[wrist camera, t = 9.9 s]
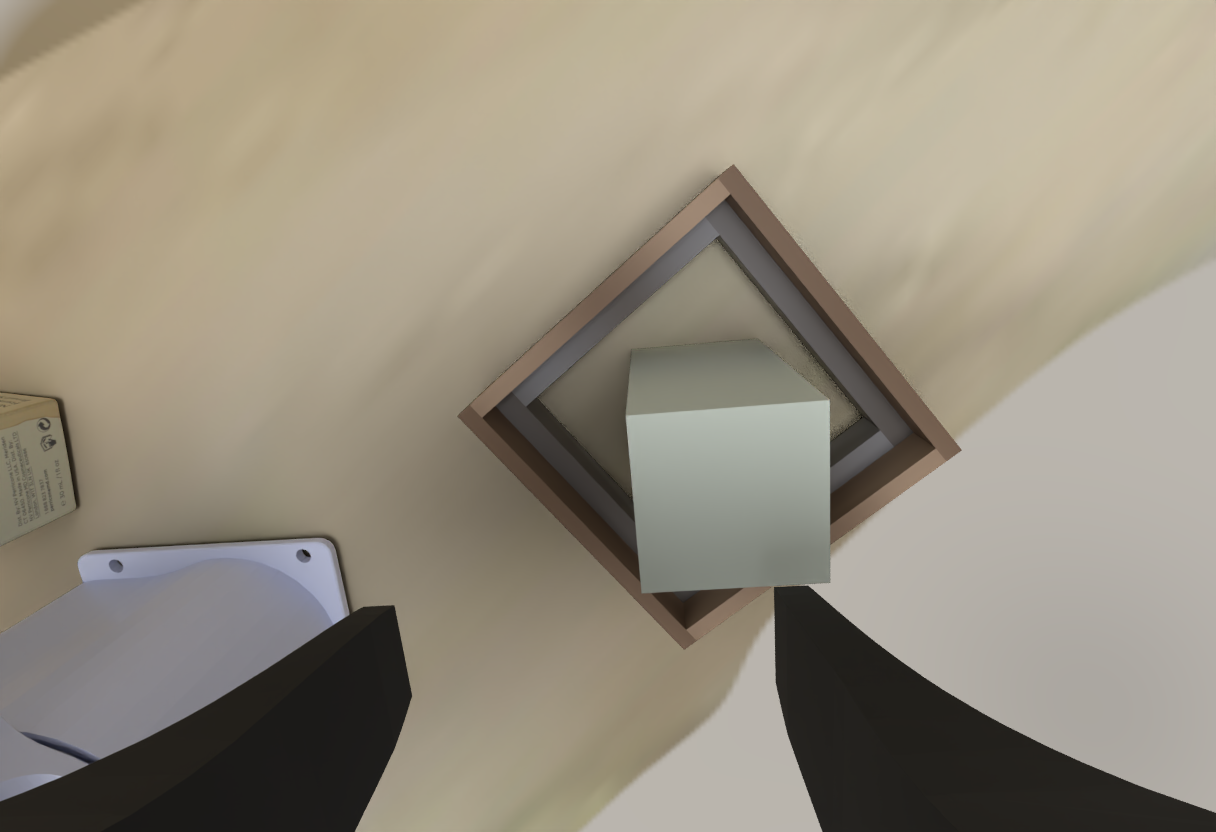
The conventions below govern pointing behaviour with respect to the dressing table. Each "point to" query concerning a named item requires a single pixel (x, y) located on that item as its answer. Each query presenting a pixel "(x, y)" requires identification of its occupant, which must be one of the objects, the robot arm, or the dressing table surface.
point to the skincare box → (32, 465)
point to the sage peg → (727, 468)
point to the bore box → (739, 219)
